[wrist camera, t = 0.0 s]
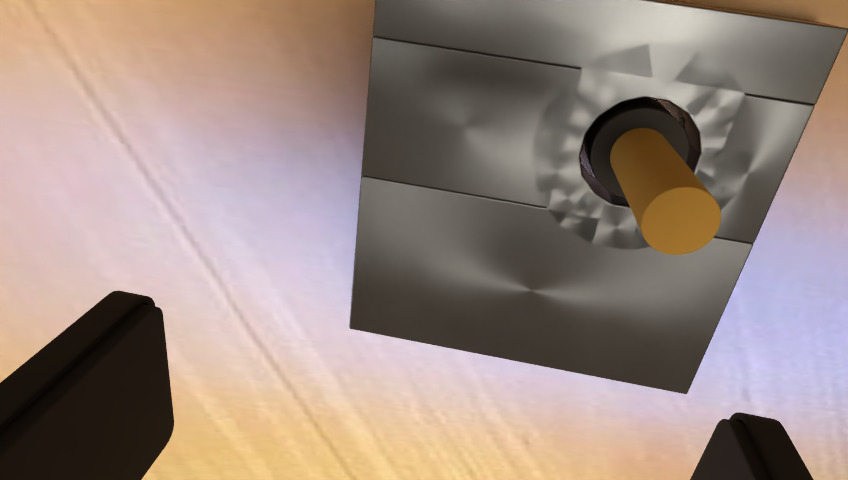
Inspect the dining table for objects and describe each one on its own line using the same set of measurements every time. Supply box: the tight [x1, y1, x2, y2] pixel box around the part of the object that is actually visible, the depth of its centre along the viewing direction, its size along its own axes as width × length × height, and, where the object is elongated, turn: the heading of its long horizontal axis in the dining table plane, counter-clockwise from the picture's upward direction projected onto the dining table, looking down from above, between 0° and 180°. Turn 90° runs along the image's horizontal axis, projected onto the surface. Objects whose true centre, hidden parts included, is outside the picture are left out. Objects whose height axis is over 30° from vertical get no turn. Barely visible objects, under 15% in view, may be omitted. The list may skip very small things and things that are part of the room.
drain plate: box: [349, 0, 848, 394], centre depth 27 cm, size 18×18×2 cm
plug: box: [585, 97, 721, 255], centre depth 22 cm, size 4×4×10 cm
